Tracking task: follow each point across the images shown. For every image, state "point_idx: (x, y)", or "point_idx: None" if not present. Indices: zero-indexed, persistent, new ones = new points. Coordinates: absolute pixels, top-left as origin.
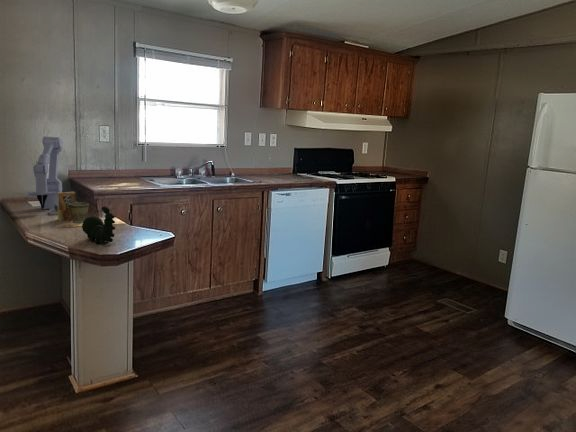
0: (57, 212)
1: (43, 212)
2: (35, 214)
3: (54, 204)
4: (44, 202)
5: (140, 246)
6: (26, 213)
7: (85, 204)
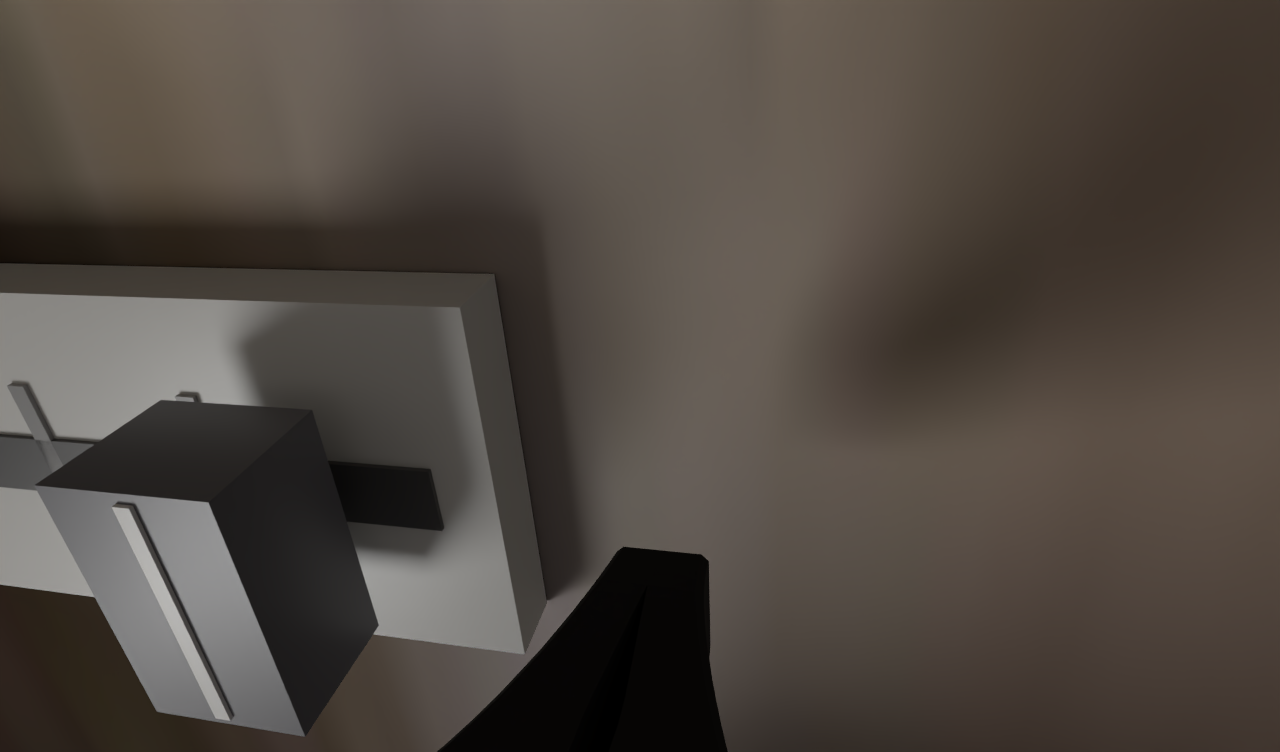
0: (256, 293)
1: None
2: (913, 409)
3: (278, 692)
4: (502, 705)
5: None
6: (1155, 610)
7: None
